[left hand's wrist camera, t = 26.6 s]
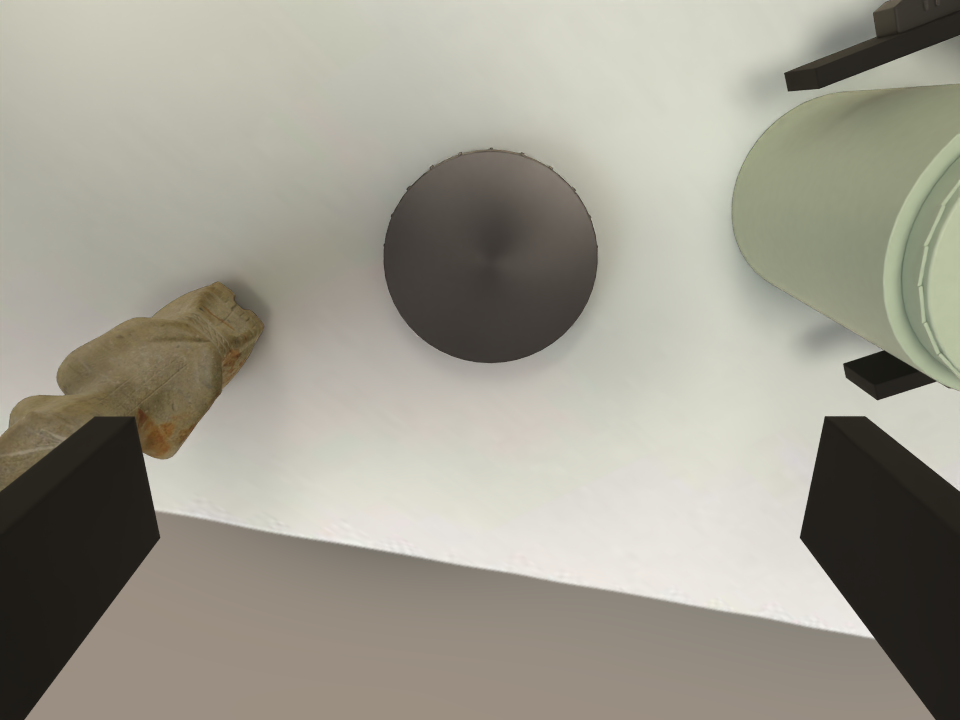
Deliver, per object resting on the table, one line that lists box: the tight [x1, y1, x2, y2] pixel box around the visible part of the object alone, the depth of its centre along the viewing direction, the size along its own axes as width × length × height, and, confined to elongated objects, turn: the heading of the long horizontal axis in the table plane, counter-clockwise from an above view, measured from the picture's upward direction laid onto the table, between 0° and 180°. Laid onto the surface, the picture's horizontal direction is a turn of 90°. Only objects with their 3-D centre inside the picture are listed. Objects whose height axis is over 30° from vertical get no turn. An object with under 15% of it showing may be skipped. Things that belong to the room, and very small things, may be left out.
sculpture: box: [0, 282, 264, 491], centre depth 29 cm, size 6×7×15 cm
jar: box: [732, 84, 960, 391], centre depth 26 cm, size 10×10×15 cm
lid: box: [384, 148, 598, 363], centre depth 34 cm, size 11×11×2 cm
